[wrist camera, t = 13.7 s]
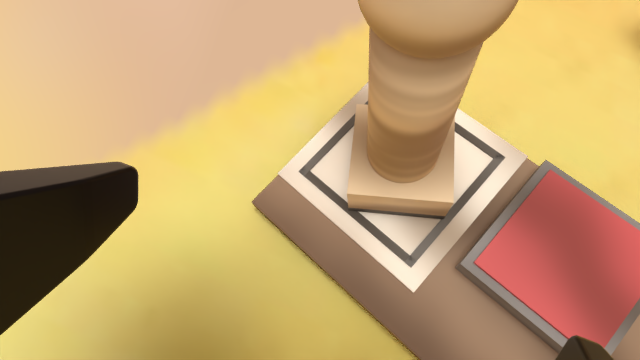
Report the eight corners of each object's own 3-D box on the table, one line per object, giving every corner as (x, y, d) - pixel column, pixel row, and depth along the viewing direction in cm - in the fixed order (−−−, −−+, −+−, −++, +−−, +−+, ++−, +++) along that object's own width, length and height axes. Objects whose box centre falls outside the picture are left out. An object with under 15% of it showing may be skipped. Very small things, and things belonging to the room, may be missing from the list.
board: (668, 591, 16) (717, 630, 14) (255, 207, 23) (244, 193, 21) (803, 362, 19) (863, 365, 16) (387, 73, 26) (389, 47, 23)
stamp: (443, 219, 21) (589, -19, 7) (348, 210, 21) (324, -24, 8) (445, 134, 22) (567, -186, 9) (357, 128, 23) (349, -180, 10)
